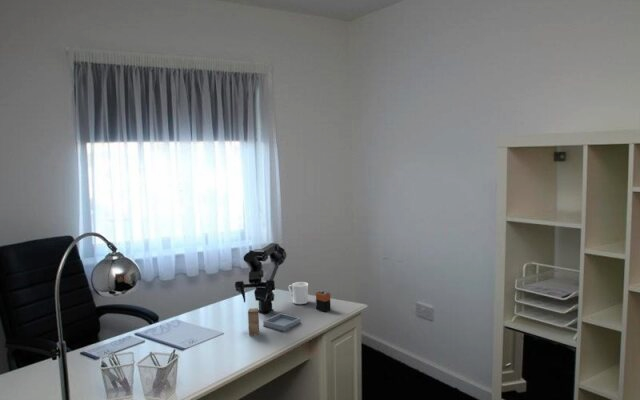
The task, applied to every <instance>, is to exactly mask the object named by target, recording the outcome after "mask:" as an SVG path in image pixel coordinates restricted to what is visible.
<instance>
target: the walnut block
mask: <svg viewBox="0 0 640 400" xmlns="http://www.w3.org/2000/svg"><path fill="white" fill-rule="evenodd" d="M258 310H259V307H258V308H254V307H253V308H248V311H247V316H248V317H247V319H248V321H247V322H248V335H249V336H258V335H259V334H260V320H259V318H260V316H259V314H260V313H259V312H258Z"/></svg>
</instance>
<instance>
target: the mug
mask: <svg viewBox="0 0 640 400" xmlns="http://www.w3.org/2000/svg"><path fill="white" fill-rule="evenodd" d="M287 287H288V291H289V294H290V297H291V298H292V303H293V304H294V305H296V306H305V305H307V304H308V303H309V283H308V282H305V281H296V282H293V283H292V284H289V285H288V286H287ZM291 288H292V289H291Z"/></svg>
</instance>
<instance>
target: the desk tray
mask: <svg viewBox="0 0 640 400" xmlns="http://www.w3.org/2000/svg"><path fill="white" fill-rule="evenodd" d="M301 322H302V321H301V317H299V316H294V315H290V314H286V313H282V312H280V313H278V314H275V315H273V316H271V317H269V318H267V319H264V320H263V322H262V324H263V327H266V328H269V329H272V330H273V329H274V330H276V331H279V332H286V331H288V330H289V329H291V328H294V327H296V326H298V325H300V324H301Z"/></svg>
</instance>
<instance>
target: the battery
mask: <svg viewBox="0 0 640 400" xmlns="http://www.w3.org/2000/svg"><path fill="white" fill-rule="evenodd" d="M315 308H316V310H317V311H319V312H323V313H327V312H329V311H331V293H329V292H328V291H325V290H323V289H319V290H318V291H317V292H315Z"/></svg>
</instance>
